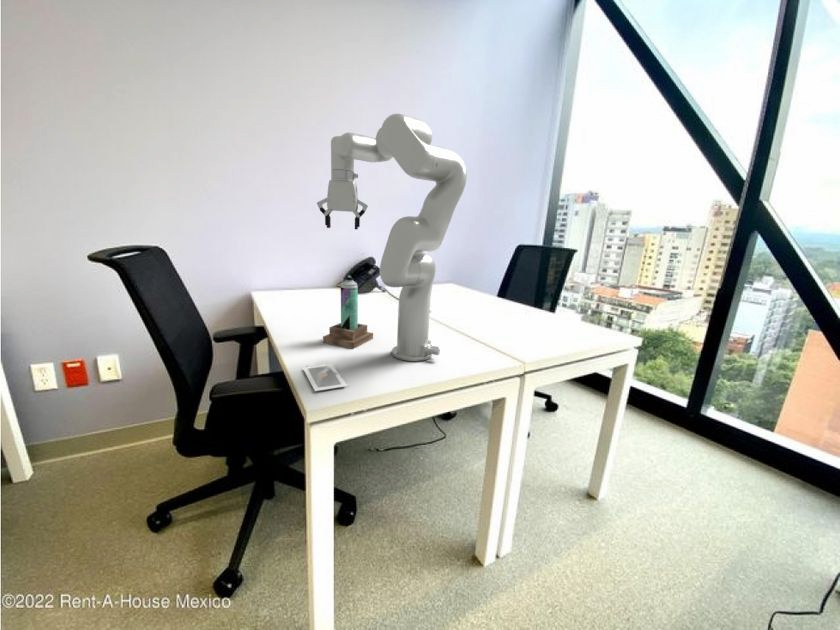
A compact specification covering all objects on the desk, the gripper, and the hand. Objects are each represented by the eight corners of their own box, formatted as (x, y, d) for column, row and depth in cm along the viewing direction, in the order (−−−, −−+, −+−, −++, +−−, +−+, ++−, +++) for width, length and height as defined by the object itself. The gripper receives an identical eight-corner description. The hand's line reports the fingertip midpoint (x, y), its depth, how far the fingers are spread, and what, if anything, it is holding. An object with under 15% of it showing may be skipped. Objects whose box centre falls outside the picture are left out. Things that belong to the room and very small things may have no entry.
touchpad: (315, 395, 89) (315, 386, 88) (302, 371, 101) (302, 364, 101) (347, 389, 92) (347, 381, 92) (331, 367, 105) (331, 360, 104)
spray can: (351, 331, 130) (351, 274, 125) (360, 335, 126) (361, 276, 121) (337, 334, 126) (337, 275, 121) (347, 338, 122) (347, 277, 117)
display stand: (373, 338, 130) (373, 324, 128) (354, 348, 119) (354, 333, 118) (343, 332, 134) (343, 319, 133) (323, 342, 123) (322, 327, 122)
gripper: (369, 179, 131) (368, 229, 135) (319, 176, 130) (320, 227, 134) (367, 177, 123) (366, 230, 128) (314, 174, 123) (315, 227, 127)
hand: (342, 228), depth 131 cm, fingers open, 9 cm apart
